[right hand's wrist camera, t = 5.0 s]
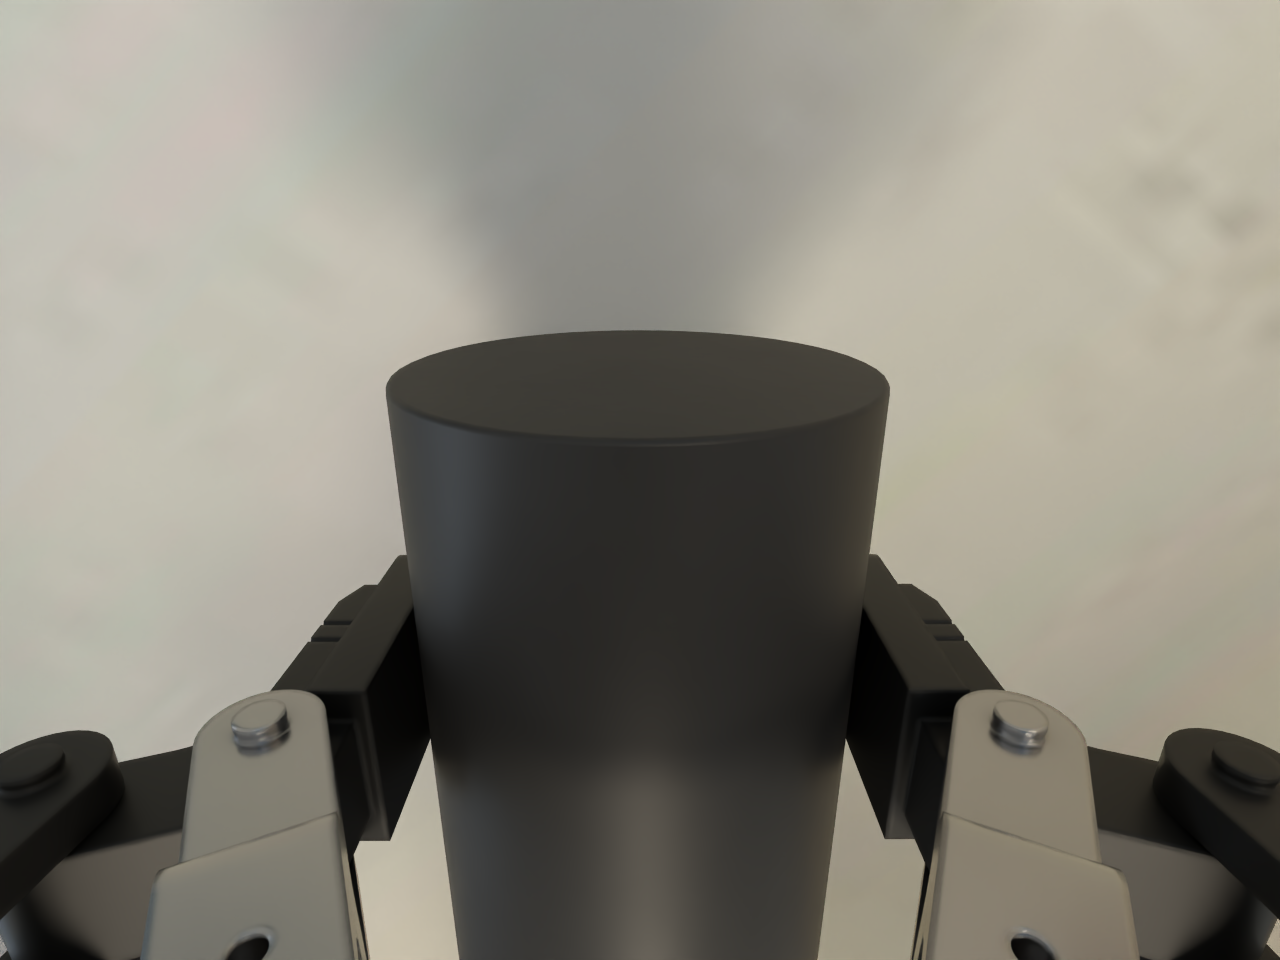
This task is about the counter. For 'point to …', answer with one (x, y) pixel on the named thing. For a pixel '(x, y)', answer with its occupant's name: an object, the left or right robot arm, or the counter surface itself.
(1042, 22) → the counter surface
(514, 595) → the rod
